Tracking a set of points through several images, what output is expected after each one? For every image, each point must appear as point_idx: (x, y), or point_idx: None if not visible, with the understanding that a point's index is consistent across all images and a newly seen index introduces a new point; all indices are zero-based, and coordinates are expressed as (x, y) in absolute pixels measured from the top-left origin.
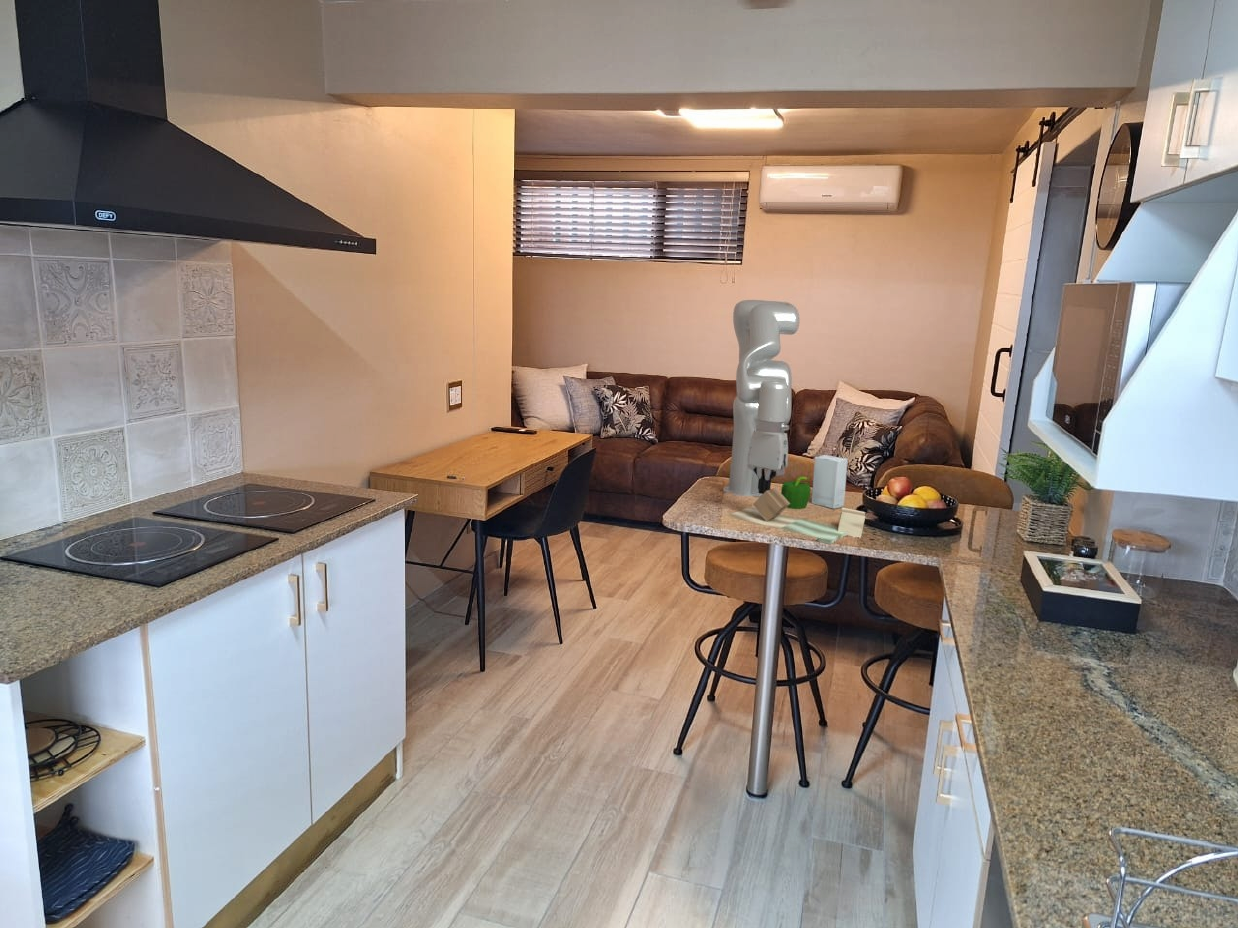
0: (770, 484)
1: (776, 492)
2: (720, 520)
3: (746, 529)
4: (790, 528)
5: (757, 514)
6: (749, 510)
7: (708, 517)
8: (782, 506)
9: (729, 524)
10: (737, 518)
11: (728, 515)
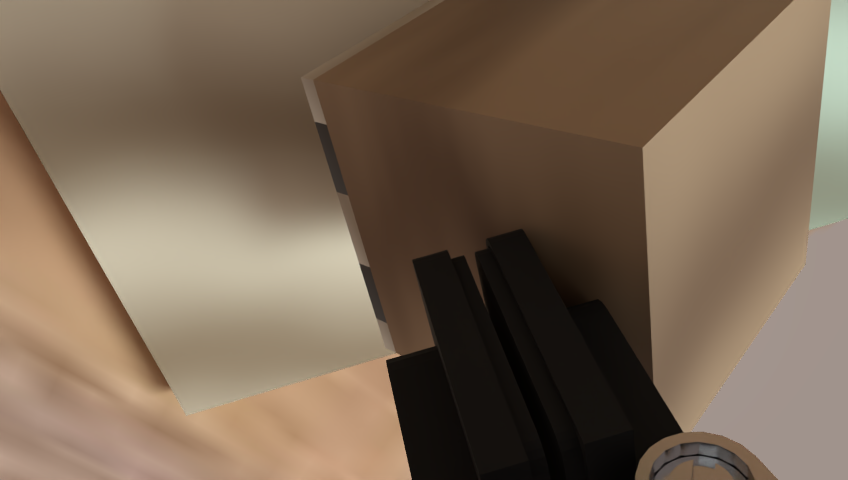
0: (647, 382)
1: (701, 211)
2: (190, 437)
3: None
4: (832, 149)
5: (286, 67)
6: (70, 14)
7: (59, 473)
8: (808, 219)
9: (328, 437)
10: (306, 371)
11: (178, 385)
